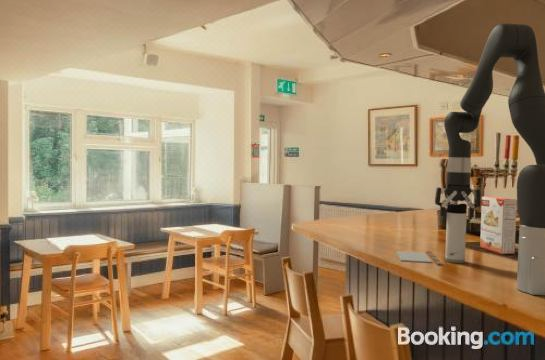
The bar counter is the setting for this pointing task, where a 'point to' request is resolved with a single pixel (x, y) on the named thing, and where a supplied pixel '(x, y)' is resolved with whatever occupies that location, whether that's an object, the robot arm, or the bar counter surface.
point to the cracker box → (498, 224)
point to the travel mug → (456, 233)
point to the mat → (413, 257)
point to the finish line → (434, 258)
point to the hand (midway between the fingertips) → (456, 218)
